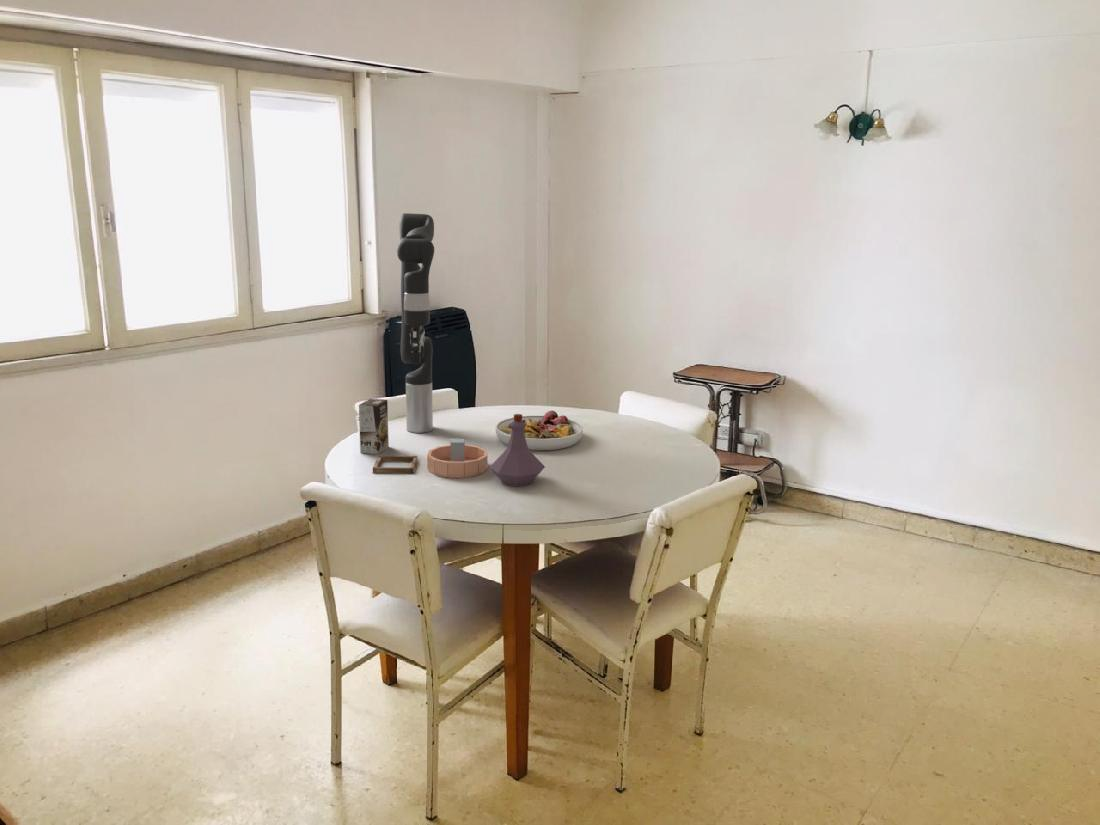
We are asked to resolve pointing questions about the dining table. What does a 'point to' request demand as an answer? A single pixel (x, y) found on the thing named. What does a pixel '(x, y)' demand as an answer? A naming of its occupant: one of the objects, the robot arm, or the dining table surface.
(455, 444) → the block
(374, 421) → the coffee box
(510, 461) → the flask
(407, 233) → the robot arm
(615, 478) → the dining table surface
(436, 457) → the bowl
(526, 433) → the bowl
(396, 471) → the tray frame
